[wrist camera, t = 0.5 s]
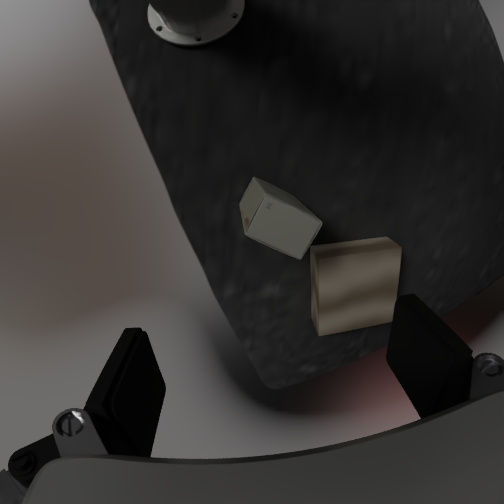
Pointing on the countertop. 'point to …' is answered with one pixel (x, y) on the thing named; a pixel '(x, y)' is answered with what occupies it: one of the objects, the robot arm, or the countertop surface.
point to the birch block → (354, 284)
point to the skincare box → (277, 219)
